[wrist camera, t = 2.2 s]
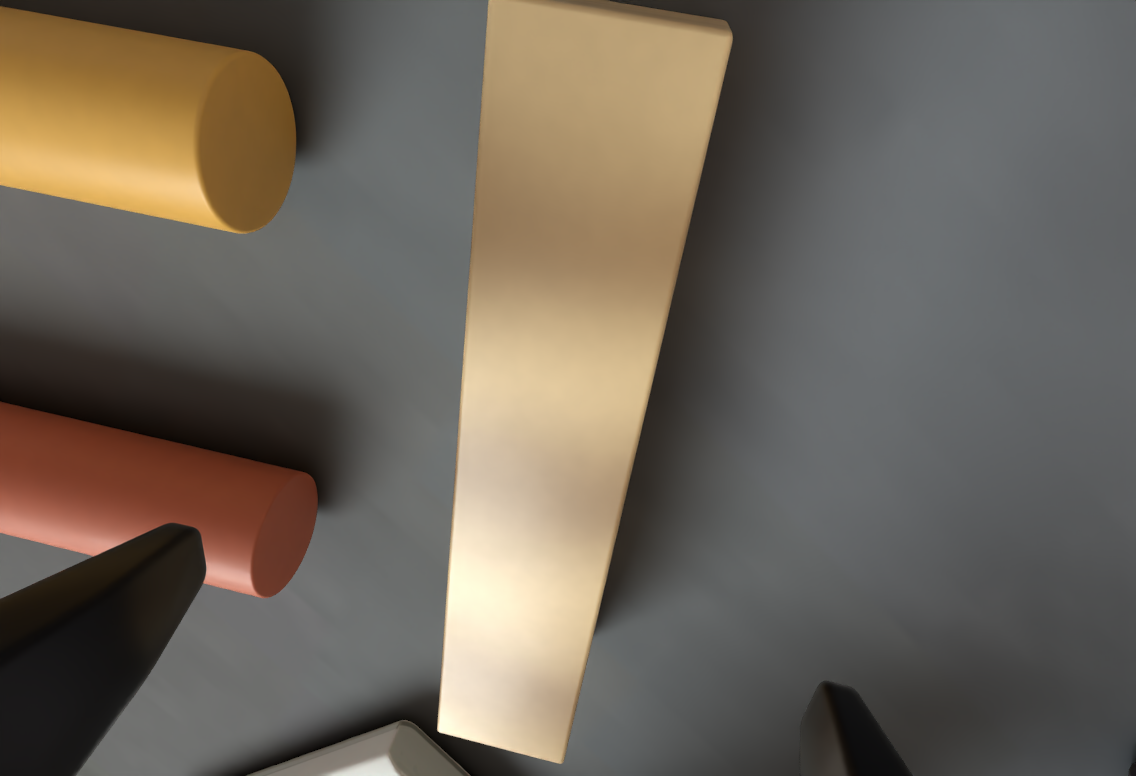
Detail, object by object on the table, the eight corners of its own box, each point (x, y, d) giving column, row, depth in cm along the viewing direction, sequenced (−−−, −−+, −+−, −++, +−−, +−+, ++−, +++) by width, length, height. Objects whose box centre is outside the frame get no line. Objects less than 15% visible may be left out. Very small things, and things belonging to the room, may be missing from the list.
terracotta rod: (321, 538, 19) (258, 626, 16) (-17, 457, 20) (-128, 528, 17) (315, 448, 17) (246, 528, 15) (-51, 364, 18) (-179, 426, 15)
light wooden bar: (586, 643, 19) (562, 766, 16) (479, 616, 19) (435, 733, 16) (729, 20, 11) (735, 31, 8) (546, -10, 11) (487, -11, 8)
